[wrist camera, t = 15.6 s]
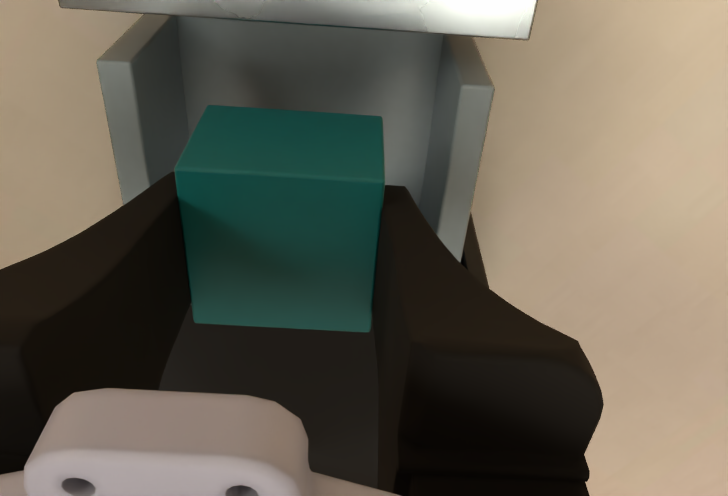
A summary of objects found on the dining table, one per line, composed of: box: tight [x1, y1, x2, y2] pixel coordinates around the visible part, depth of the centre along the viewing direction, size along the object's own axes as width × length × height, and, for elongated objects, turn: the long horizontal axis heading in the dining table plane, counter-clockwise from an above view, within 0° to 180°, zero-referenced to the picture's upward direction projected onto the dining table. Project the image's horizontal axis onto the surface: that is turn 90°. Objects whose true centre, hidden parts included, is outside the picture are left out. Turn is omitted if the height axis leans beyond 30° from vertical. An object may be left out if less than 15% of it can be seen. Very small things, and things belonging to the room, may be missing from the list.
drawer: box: [58, 0, 538, 262], centre depth 17 cm, size 17×10×5 cm, turn 176°
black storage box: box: [158, 211, 489, 489], centre depth 23 cm, size 13×11×7 cm
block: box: [174, 105, 385, 332], centre depth 14 cm, size 4×4×3 cm
